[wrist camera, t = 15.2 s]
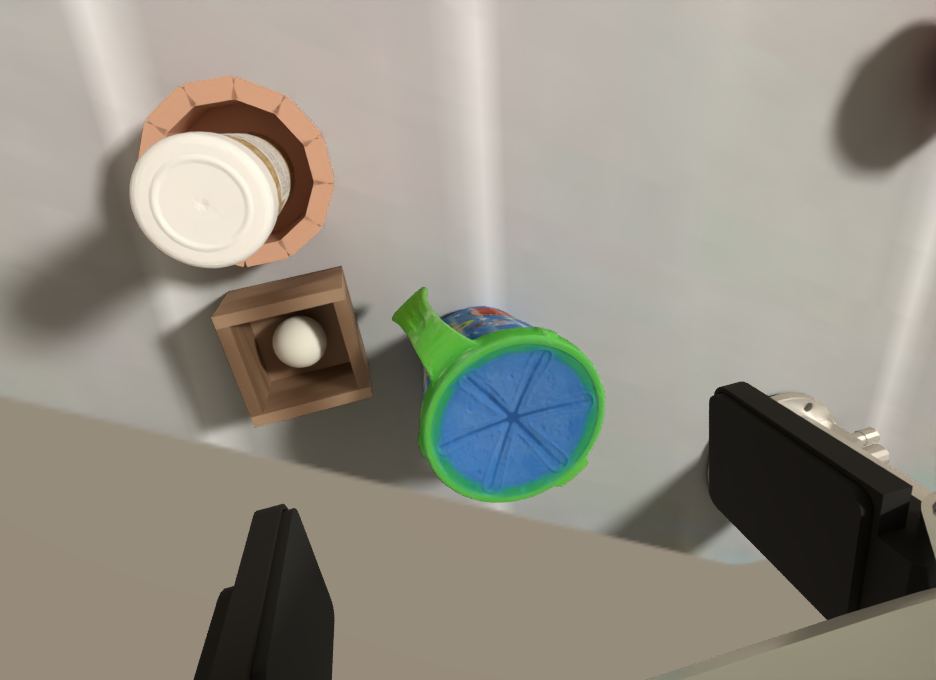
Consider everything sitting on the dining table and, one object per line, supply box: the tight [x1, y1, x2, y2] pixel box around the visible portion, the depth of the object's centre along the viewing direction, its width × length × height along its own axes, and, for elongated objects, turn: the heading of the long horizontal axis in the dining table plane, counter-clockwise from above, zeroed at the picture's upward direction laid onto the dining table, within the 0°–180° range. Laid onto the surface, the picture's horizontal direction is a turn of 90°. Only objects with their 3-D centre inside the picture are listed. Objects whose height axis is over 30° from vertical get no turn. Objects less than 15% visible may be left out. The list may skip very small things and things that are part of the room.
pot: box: [138, 76, 334, 267], centre depth 28 cm, size 9×9×4 cm
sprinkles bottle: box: [129, 132, 295, 268], centre depth 24 cm, size 5×5×13 cm
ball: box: [273, 316, 327, 368], centre depth 32 cm, size 3×3×3 cm
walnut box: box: [211, 266, 373, 428], centre depth 32 cm, size 7×7×5 cm
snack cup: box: [392, 287, 605, 502], centre depth 33 cm, size 16×10×10 cm
